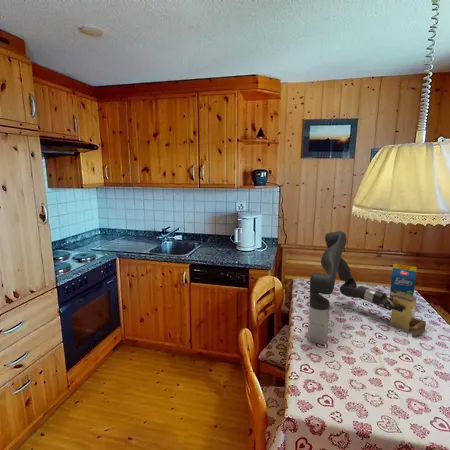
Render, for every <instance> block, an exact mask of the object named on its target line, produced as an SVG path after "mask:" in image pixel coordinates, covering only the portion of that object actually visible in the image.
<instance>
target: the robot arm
mask: <svg viewBox="0 0 450 450" xmlns="http://www.w3.org/2000/svg"><path fill="white" fill-rule="evenodd" d="M324 241H325V244H326V245H325V246H326V248H327V249H326V250H324V252H323V253H322V256H321V259H320V264H321V266H322V269H323V270H324V272H326V274H325V273H321V272H320V273H318V272H313V273H311V274H310V278H309V307H308V308H309V309H308V327H307V330H308V331H307V339H308V341H309V342H310V343H315V344H318V345H323V344H325V343H327V342H328V334H329V319H330V306H331V305H330V303H331V302H330V300H329V299H327V298H326V297H324V296H323V295H331V294H332V293H333V292H334V289H335V284H336V279H337V278H336V277H337V276H338V278H339V280H340V281H343V282H344V283H343V284H342V285H340V286H339V291H340V293H341V294H342V295H343V296H345V297H348V298H353V299H354V298H355V299H361V300H363V301H366V302H369V303H370V304H373V305H376V306H379V307H380V308H383V309H386V310H387V311H392V310H397V311H399V312H403V308H402V307H399V306H396V305H394V304H393V296H392V297H390V296H389V297H388V295H387V293H385V292H383V291H382V292H381V291H380V290H377V289H372V288H368V287H365V286H363V285H361V286H358V284H357V282H356V281H355V279H354V277H353V275H352V273H351V270H350V266H349V264H348V263H347V261H346V260H345V259H344V258H342V255H343V252H344V249H345V248H346V245H347V235H346V233H345V232H343V231H333V232H332V231H331V232H328V233H325V236H324ZM321 294H323V295H321Z"/></svg>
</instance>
